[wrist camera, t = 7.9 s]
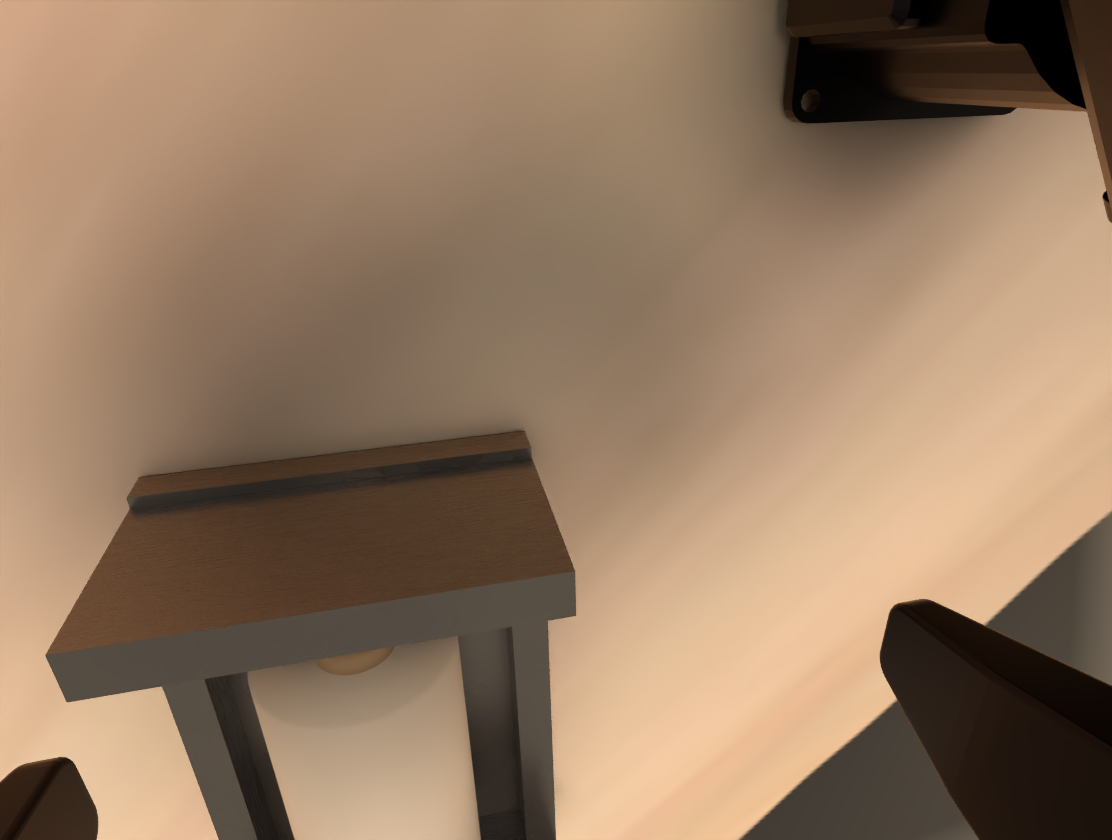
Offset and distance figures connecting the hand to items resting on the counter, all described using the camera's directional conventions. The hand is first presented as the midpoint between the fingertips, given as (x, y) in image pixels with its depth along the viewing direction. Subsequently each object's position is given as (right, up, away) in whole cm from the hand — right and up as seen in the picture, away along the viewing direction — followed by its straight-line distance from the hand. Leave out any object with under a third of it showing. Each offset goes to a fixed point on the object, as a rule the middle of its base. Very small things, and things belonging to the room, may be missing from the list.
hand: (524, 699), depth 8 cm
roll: (-5, -5, +14) cm, 16 cm away
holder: (-5, -5, +15) cm, 16 cm away
